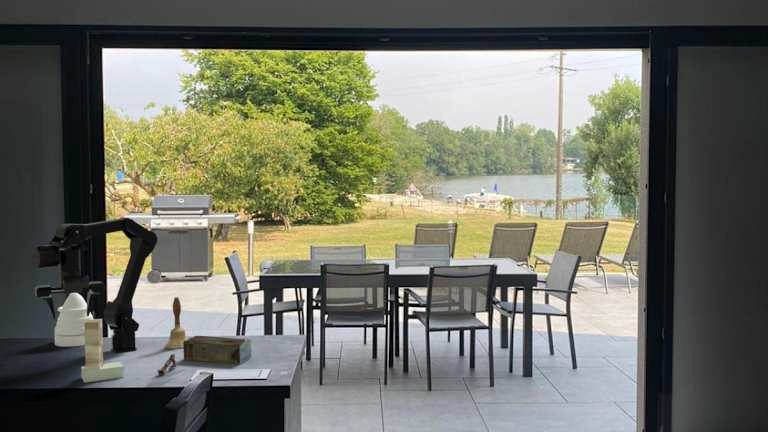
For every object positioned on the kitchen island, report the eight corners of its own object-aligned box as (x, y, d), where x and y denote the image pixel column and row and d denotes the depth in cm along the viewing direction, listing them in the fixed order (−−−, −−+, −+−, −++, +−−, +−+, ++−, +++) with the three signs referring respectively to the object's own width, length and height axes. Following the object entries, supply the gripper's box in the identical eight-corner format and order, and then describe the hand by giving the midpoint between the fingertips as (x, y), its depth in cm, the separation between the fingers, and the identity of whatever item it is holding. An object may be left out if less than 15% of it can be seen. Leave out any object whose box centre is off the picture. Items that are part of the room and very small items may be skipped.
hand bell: (161, 349, 223) (160, 299, 223) (169, 343, 232) (168, 295, 231) (187, 349, 224) (186, 299, 223) (194, 343, 232) (193, 295, 231)
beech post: (89, 366, 192) (88, 319, 191) (103, 365, 192) (102, 319, 192) (85, 369, 188) (84, 322, 188) (99, 369, 189) (98, 321, 188)
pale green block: (120, 372, 197) (119, 361, 196) (123, 377, 192) (123, 366, 192) (81, 377, 191) (81, 366, 191) (84, 382, 187) (84, 371, 187)
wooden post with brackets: (180, 364, 202) (176, 352, 200) (166, 382, 195) (163, 370, 193) (174, 364, 202) (170, 351, 200) (161, 382, 195) (157, 369, 193)
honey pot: (46, 345, 230) (44, 291, 229) (73, 336, 242) (71, 285, 241) (79, 347, 226) (77, 292, 225) (104, 338, 239) (103, 286, 238)
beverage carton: (240, 365, 204) (239, 343, 204) (182, 361, 209) (181, 339, 209) (252, 358, 212) (251, 337, 212) (195, 355, 217) (195, 334, 216)
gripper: (37, 270, 197) (38, 325, 197) (107, 266, 206) (108, 319, 207) (34, 266, 206) (35, 319, 207) (101, 263, 216) (102, 313, 216)
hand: (71, 317), depth 209 cm, fingers open, 9 cm apart
